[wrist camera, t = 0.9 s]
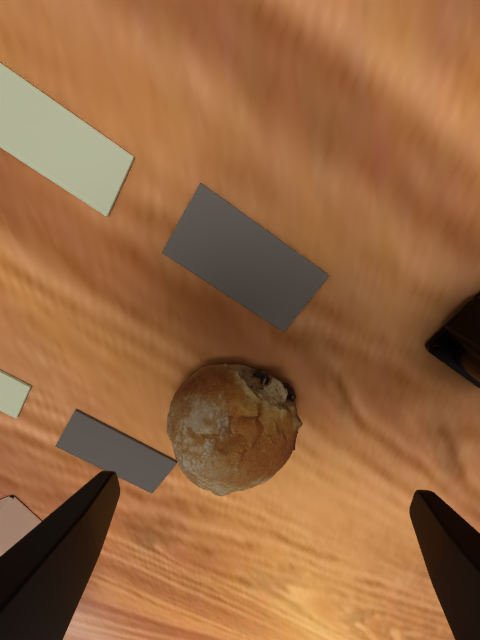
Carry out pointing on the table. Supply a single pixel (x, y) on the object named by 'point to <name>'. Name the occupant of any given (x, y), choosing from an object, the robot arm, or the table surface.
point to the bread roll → (232, 427)
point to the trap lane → (183, 247)
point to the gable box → (14, 522)
